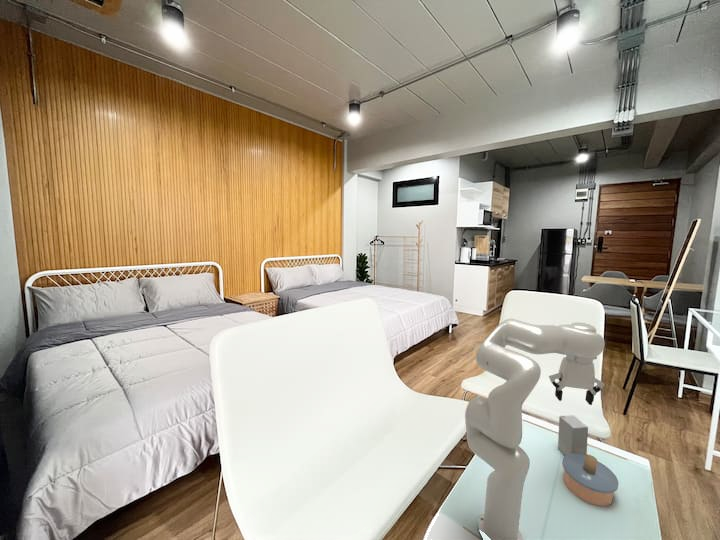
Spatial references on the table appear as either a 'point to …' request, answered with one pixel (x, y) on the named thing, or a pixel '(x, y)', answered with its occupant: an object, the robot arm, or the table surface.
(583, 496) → the bowl
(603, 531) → the table surface
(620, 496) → the table surface
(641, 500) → the table surface
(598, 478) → the lid
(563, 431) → the skincare box
